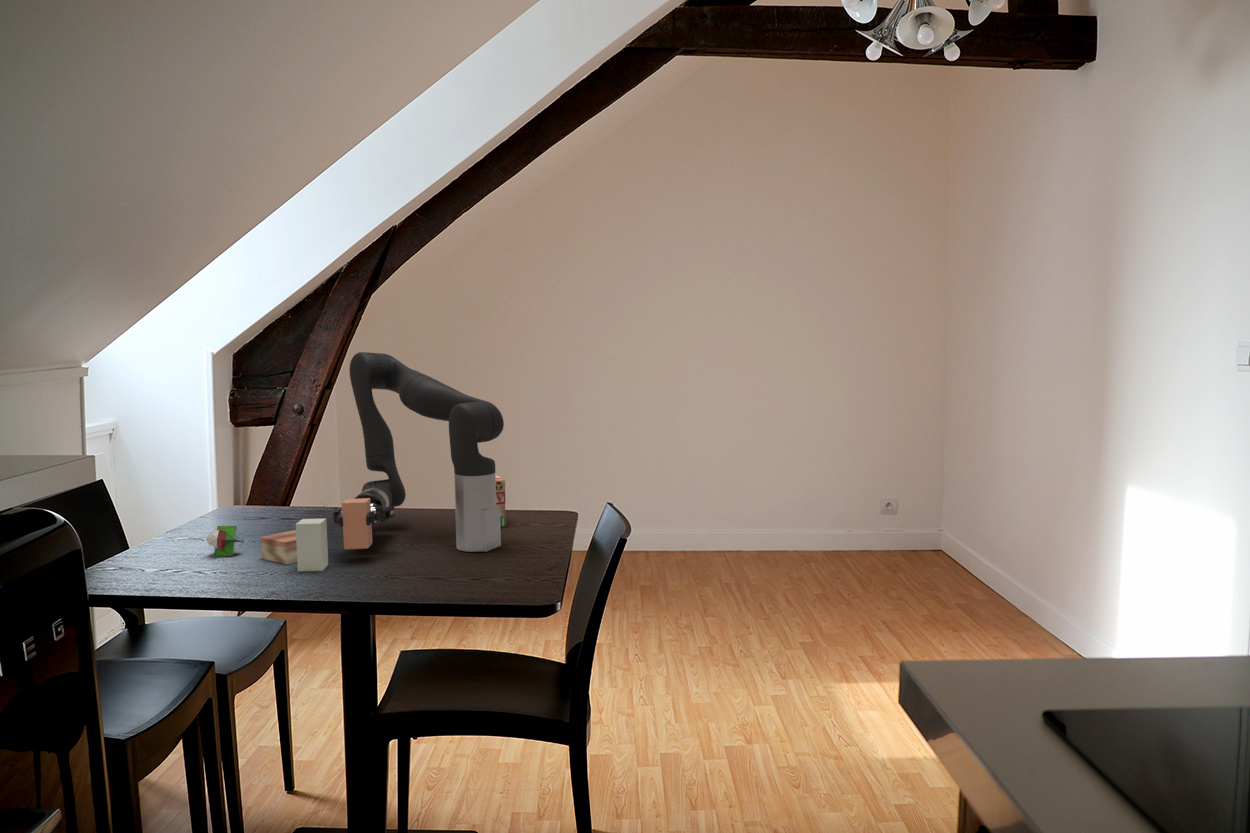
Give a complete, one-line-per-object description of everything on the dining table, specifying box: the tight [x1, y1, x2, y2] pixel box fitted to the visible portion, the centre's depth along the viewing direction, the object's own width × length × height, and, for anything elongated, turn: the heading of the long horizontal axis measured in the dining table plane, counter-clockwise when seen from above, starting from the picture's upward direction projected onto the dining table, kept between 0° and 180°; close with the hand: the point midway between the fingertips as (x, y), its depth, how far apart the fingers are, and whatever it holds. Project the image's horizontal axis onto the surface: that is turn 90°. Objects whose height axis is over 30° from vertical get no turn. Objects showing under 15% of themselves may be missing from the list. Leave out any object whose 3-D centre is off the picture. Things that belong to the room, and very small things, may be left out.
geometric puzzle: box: [205, 525, 245, 557], centre depth 204 cm, size 7×7×8 cm
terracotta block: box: [341, 498, 373, 550], centre depth 198 cm, size 5×5×10 cm
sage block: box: [295, 518, 329, 572], centre depth 192 cm, size 5×5×10 cm
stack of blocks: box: [496, 474, 507, 528], centre depth 238 cm, size 21×6×12 cm, turn 24°
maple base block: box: [260, 529, 297, 565], centre depth 201 cm, size 9×9×5 cm
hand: (354, 521), depth 195 cm, fingers closed on terracotta block, 5 cm apart
